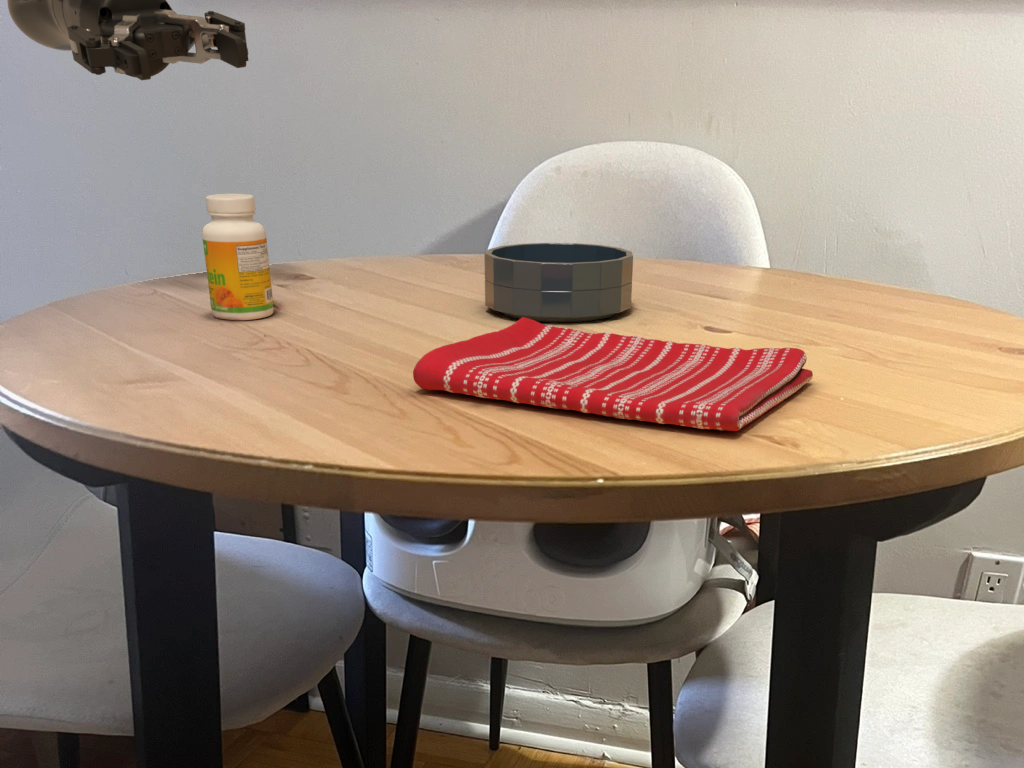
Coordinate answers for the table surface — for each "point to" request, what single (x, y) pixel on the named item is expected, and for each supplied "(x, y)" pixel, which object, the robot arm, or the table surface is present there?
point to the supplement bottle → (236, 259)
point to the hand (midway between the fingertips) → (194, 60)
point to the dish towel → (617, 375)
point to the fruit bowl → (558, 281)
